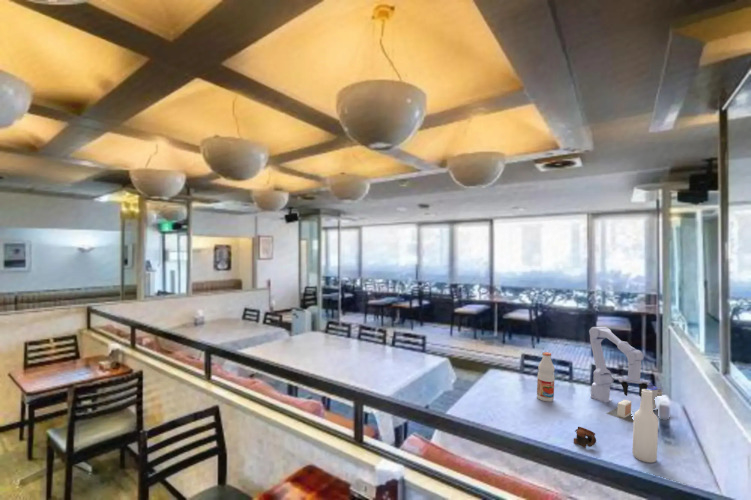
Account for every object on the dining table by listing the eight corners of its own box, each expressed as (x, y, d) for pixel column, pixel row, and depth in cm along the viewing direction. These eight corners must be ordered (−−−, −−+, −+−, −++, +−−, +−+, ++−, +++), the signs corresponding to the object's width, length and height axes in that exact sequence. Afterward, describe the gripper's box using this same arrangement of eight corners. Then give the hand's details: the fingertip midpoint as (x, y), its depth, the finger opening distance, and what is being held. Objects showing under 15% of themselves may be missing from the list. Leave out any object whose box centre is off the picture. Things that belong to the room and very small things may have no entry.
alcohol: (657, 466, 161) (660, 396, 161) (632, 459, 166) (635, 391, 165) (655, 456, 168) (658, 389, 168) (631, 450, 173) (634, 385, 173)
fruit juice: (544, 394, 236) (546, 350, 236) (557, 400, 228) (559, 354, 227) (533, 396, 233) (535, 351, 232) (545, 402, 224) (547, 355, 224)
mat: (605, 414, 211) (605, 413, 211) (618, 407, 220) (618, 406, 220) (635, 424, 199) (635, 423, 199) (647, 417, 209) (647, 416, 209)
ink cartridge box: (653, 406, 224) (654, 382, 224) (662, 410, 218) (663, 385, 218) (639, 407, 222) (640, 382, 222) (648, 411, 216) (649, 386, 216)
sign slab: (617, 415, 209) (617, 402, 208) (624, 411, 214) (624, 399, 214) (624, 418, 206) (624, 405, 206) (631, 414, 211) (631, 401, 211)
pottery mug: (567, 440, 181) (571, 423, 184) (583, 449, 182) (588, 432, 184) (586, 447, 170) (590, 428, 172) (603, 456, 170) (607, 437, 173)
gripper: (623, 372, 210) (622, 397, 210) (652, 375, 207) (651, 400, 207) (617, 368, 217) (616, 392, 217) (645, 371, 214) (644, 395, 214)
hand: (633, 395), depth 212 cm, fingers open, 7 cm apart
